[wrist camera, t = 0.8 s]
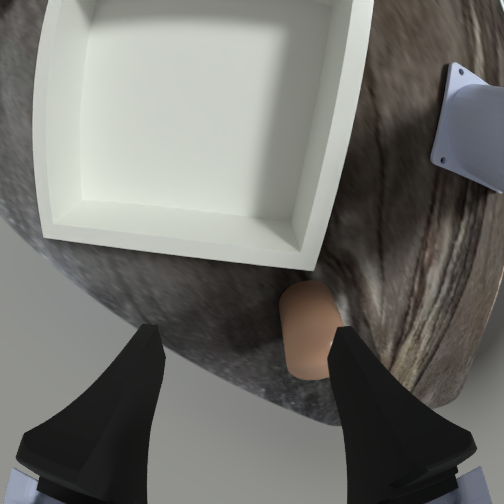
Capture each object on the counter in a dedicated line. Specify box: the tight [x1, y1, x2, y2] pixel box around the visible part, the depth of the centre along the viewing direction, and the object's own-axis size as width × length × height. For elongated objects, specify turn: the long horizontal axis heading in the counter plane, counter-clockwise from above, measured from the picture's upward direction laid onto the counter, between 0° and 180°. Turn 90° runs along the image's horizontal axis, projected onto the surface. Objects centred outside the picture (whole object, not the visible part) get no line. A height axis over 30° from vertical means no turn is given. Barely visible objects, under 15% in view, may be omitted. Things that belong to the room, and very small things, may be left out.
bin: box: [33, 0, 374, 271], centre depth 13 cm, size 16×16×5 cm
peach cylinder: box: [279, 280, 344, 380], centre depth 20 cm, size 4×4×6 cm
